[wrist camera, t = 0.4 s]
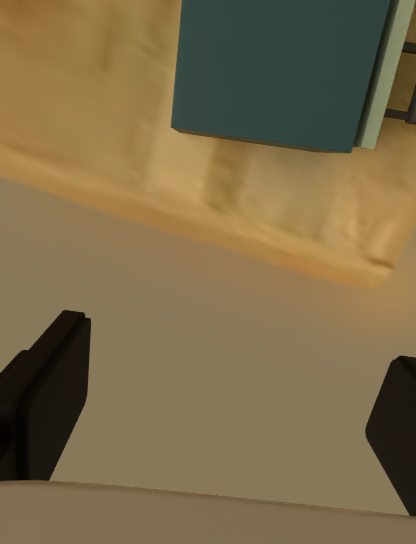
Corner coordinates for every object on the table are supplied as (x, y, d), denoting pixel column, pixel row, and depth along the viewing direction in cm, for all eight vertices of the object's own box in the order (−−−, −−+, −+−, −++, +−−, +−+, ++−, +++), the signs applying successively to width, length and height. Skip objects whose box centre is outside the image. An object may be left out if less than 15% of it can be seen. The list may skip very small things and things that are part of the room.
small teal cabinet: (348, 10, 32) (401, -40, 24) (316, 152, 36) (351, 153, 28) (193, -16, 32) (188, -77, 23) (178, 132, 36) (170, 127, 27)
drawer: (423, 26, 32) (483, -7, 25) (386, 155, 36) (429, 157, 29) (228, -6, 31) (235, -50, 24) (211, 130, 35) (213, 125, 28)
